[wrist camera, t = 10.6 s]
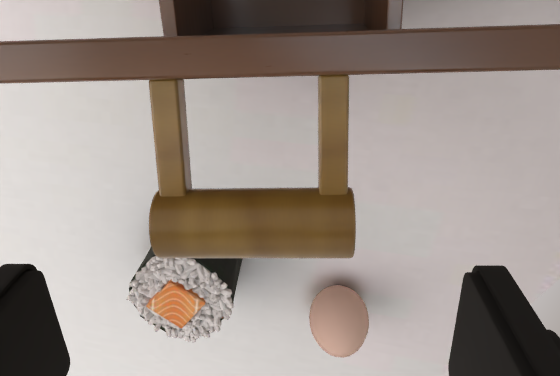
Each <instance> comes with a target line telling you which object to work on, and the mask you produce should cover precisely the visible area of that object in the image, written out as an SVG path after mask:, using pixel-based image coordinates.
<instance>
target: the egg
mask: <svg viewBox="0 0 560 376" xmlns="http://www.w3.org/2000/svg"><path fill="white" fill-rule="evenodd" d="M309 319H310V327H311V331H312V334H313V336H314V338H315V340H316V341H317V343H318V344H319V346H320V347H321V348H322V349H323V350H324V351H325V352H327V353H328V354H330V355H332V356H335V357H347V356H350V355H352V354H354V353H355V352H356V351H358V350H359V348H360V347H361V346H362V344H363V342H364V340H365V338H366V335H367V333H368V327H369V319H368V312H367V308H366V305H365V303H364V302H363V300H362V298H361V297H360V296H359V295H358V294H357V293H356V292H355V291H354V290H352V289H350V288H348V287H345V286H341V285H335V286H330V287H327V288H325V289H323V290H322V291H321V292H320V293H319V294H318V295H317V296H316V297H315V299H314V300H313V302H312V305H311V308H310V315H309Z"/></svg>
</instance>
